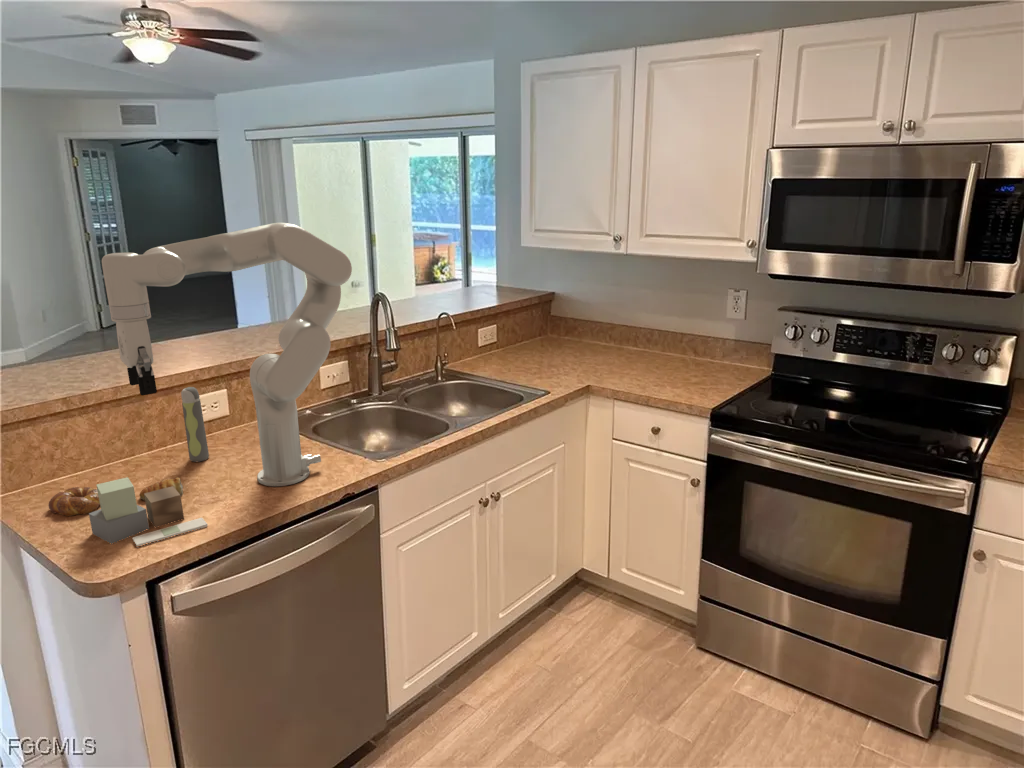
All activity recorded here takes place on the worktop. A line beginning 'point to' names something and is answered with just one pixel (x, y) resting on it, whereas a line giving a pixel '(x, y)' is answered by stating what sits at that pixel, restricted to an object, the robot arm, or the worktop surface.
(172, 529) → the card
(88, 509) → the pretzel
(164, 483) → the pastry
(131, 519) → the base block
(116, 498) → the sage block
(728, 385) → the worktop surface
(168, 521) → the walnut block
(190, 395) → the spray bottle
